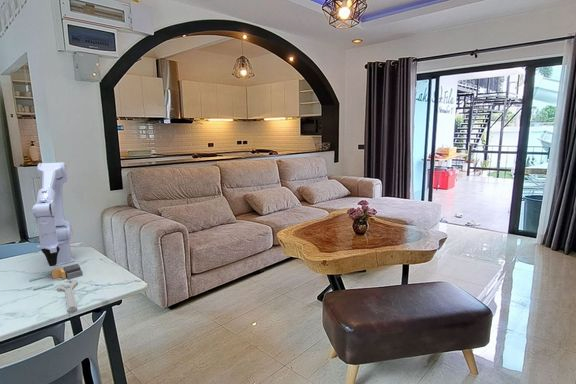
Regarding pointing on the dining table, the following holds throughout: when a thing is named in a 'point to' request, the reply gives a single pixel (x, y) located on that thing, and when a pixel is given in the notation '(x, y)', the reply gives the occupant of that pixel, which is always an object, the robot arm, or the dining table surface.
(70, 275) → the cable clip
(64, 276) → the orange l-shaped block
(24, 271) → the dining table surface
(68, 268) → the plug block
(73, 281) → the adjustable wrench
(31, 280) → the rails
